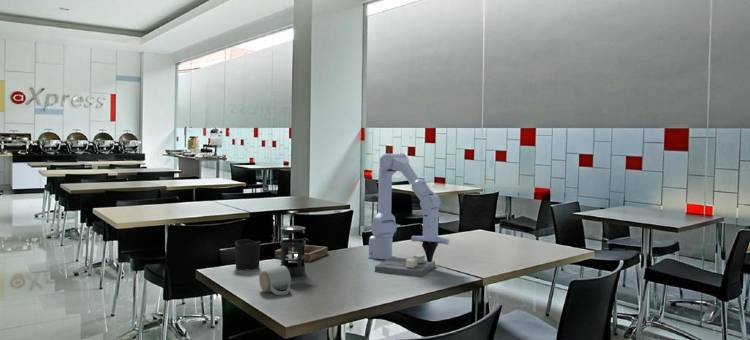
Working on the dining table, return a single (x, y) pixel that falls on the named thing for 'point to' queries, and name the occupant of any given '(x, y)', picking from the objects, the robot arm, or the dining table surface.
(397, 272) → the console
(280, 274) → the ceramic mug
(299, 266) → the french press
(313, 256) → the tray
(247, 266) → the pen holder
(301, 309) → the dining table surface
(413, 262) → the block
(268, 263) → the dining table surface
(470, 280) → the dining table surface
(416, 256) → the sage fader
